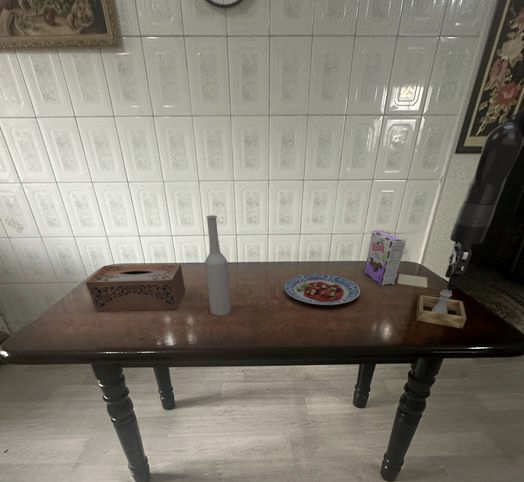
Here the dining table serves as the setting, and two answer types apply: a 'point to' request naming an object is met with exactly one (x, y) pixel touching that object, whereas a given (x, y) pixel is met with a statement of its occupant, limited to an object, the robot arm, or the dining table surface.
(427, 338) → the dining table surface
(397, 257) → the candy box
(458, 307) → the wooden box
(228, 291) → the bottle
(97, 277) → the tissue box cover
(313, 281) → the ceramic plate
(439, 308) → the rook chess piece
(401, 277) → the felt mat
